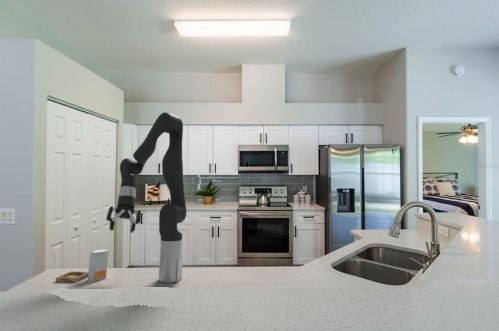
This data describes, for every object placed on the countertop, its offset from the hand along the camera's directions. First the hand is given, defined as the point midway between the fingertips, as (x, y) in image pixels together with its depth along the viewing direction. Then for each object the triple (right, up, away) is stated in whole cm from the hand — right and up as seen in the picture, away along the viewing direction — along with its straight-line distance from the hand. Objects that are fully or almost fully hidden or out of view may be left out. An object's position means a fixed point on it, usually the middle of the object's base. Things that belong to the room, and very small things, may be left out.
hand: (122, 231), depth 121 cm
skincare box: (-9, -20, -4) cm, 22 cm away
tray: (-19, -20, -5) cm, 28 cm away
